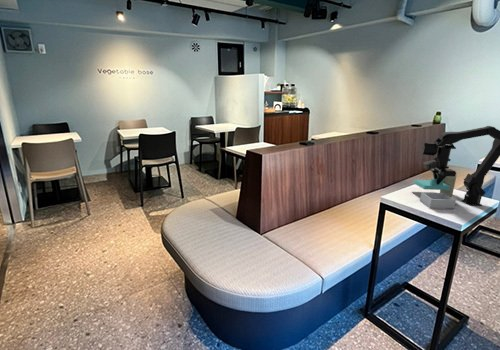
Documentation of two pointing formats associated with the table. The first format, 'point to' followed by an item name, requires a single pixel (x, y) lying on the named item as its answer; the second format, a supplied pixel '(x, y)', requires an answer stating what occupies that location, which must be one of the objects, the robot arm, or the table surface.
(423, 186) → the lid
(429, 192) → the mat
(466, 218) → the table surface
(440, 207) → the tub
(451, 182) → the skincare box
